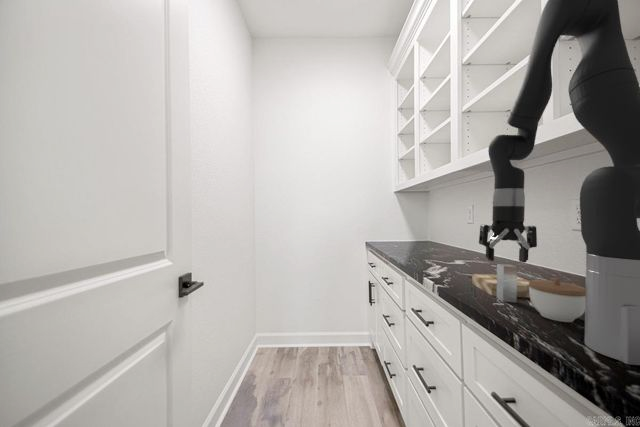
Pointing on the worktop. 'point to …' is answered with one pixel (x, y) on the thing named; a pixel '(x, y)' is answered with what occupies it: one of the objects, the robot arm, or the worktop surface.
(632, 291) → the robot arm
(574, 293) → the lidded jar
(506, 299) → the grey rectangular block
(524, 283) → the well block
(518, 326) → the worktop surface
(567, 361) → the worktop surface
